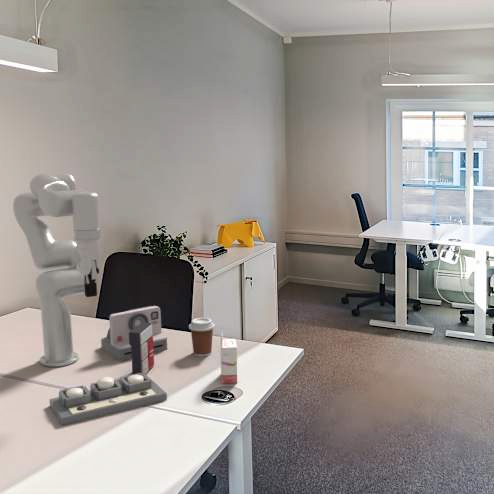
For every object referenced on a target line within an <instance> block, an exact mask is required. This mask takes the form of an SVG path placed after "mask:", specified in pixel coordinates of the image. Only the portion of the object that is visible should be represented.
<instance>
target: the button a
mask: <svg viewBox="0 0 494 494" xmlns="http://www.w3.org/2000/svg"><path fill="white" fill-rule="evenodd" d="M71 388H72V389H69V390H67V391H66V397H67V398H71V397H75V396H80V395H83V389H81V388H73V387H71Z"/></svg>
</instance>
